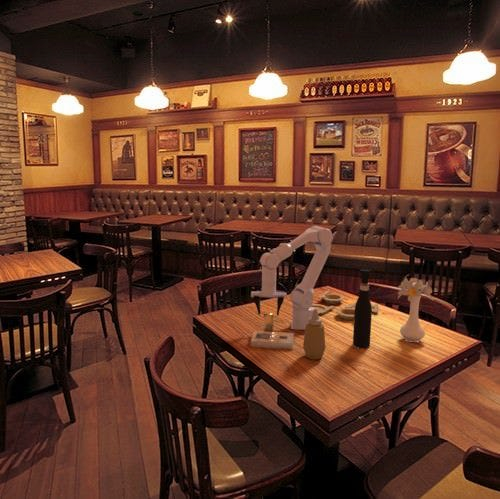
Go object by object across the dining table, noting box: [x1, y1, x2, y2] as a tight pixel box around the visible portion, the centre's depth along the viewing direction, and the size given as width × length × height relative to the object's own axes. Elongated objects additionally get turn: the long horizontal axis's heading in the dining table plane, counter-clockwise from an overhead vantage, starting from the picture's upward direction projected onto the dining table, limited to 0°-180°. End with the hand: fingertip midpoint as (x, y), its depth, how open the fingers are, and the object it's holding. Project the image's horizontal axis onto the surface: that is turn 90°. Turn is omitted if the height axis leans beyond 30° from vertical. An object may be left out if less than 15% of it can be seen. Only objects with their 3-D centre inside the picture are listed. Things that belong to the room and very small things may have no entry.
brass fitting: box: [263, 311, 274, 332], centre depth 180 cm, size 4×4×8 cm
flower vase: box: [397, 277, 434, 342], centre depth 171 cm, size 13×18×25 cm
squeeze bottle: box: [302, 309, 327, 360], centre depth 156 cm, size 8×8×18 cm
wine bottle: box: [352, 268, 373, 349], centre depth 165 cm, size 6×6×30 cm
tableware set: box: [311, 290, 380, 321], centre depth 209 cm, size 35×29×4 cm
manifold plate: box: [250, 330, 295, 350], centre depth 170 cm, size 16×10×2 cm, turn 81°
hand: (268, 314), depth 179 cm, fingers open, 7 cm apart
